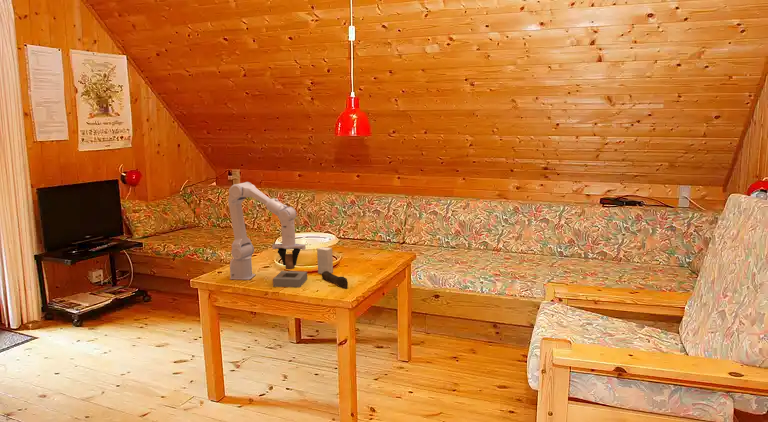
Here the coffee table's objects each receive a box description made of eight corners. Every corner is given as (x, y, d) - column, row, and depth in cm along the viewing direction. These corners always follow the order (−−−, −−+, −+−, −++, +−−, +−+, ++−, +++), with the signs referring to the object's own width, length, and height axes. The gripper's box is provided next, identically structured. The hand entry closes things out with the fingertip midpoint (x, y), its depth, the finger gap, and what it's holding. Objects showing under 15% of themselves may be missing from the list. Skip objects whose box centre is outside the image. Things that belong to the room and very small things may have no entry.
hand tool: (321, 280, 251) (320, 270, 250) (329, 278, 253) (328, 268, 252) (341, 291, 235) (341, 280, 234) (349, 289, 237) (349, 278, 236)
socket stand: (273, 286, 242) (272, 278, 241) (282, 278, 253) (281, 271, 253) (299, 287, 240) (299, 279, 239) (307, 279, 252) (307, 271, 251)
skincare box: (333, 272, 261) (332, 248, 259) (328, 275, 257) (327, 250, 255) (323, 271, 264) (322, 246, 262) (317, 273, 260) (316, 248, 258)
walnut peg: (284, 269, 244) (283, 256, 243) (287, 266, 248) (286, 253, 247) (293, 269, 243) (292, 256, 242) (295, 266, 247) (295, 253, 246)
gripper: (269, 236, 240) (271, 267, 242) (301, 237, 238) (303, 267, 240) (274, 233, 247) (276, 262, 249) (306, 233, 245) (307, 263, 247)
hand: (289, 264), depth 245 cm, fingers closed on walnut peg, 4 cm apart
